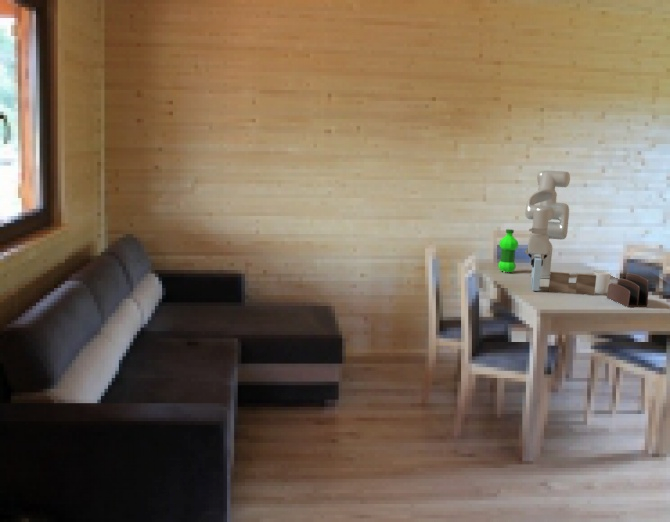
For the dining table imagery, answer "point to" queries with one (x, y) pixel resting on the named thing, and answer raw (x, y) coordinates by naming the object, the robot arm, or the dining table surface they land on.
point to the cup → (602, 281)
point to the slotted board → (582, 285)
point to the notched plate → (536, 273)
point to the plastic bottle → (508, 252)
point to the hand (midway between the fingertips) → (536, 266)
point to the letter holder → (630, 291)
